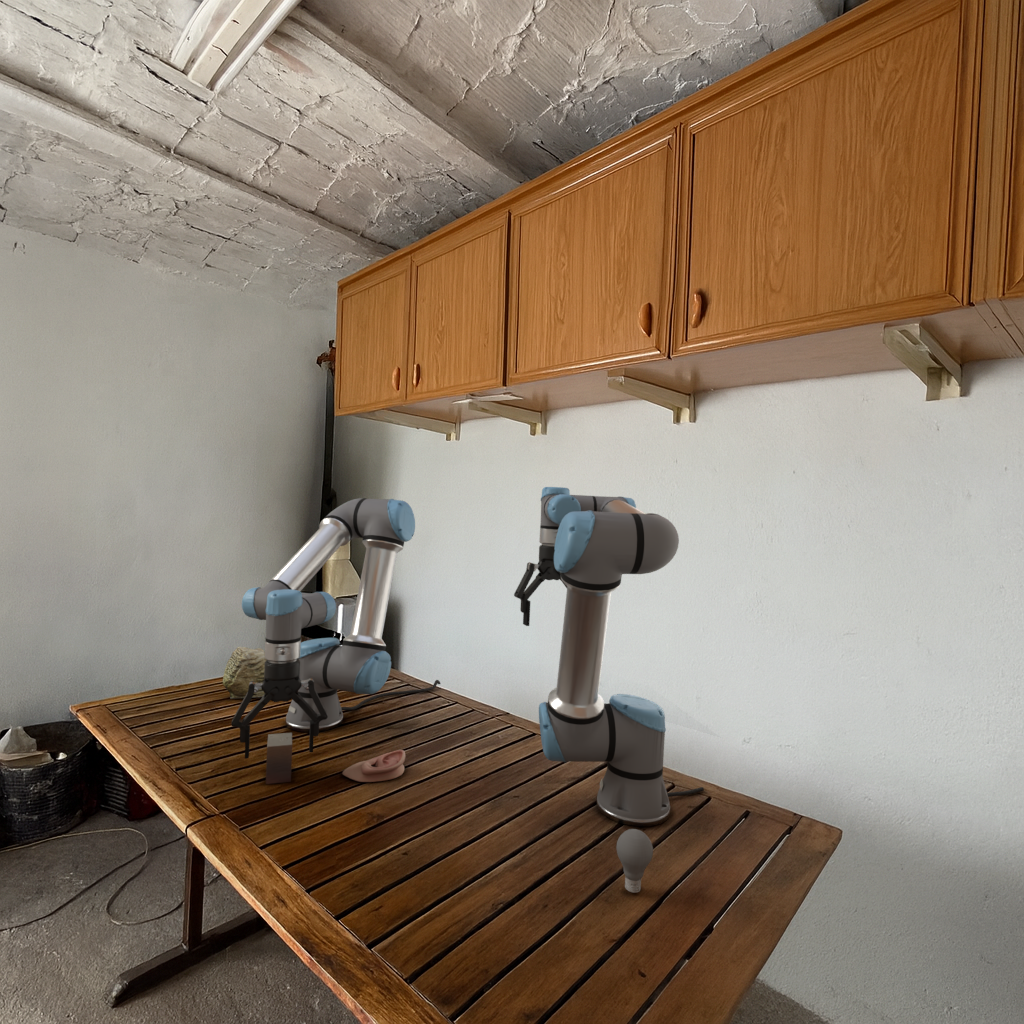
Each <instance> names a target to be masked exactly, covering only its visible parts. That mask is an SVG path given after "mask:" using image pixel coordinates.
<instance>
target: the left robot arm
mask: <svg viewBox="0 0 1024 1024" xmlns="http://www.w3.org/2000/svg"><path fill="white" fill-rule="evenodd" d="M318 527H319V528H318V529H317V531H315V532H314V533H313V535H311V536H310V538H309V539H308V540H307V541H306V542H305V543H304V544H303V545H302V546H301V547H300V548H299V549H298V550H297V552H295V553H294V554H293V556H291V558H290V559H288V561H287V562H286V563H285V564H284V565H283V566H282V567H281V568H280V569H279V570H278V572H276V573H275V574H274V575H273V576H272V578H270V579H269V581H268V582H267V583H266V584H265V585H264V586H263V587H261V586H259V587H258V586H257V587H251V588H249V589H248V590H246V592H245V593H244V595H243V597H242V599H241V609H242V612H243V613H244V615H245V616H246V617H248V618H252V619H255V620H256V619H257V620H259V621H265V641H264V642H265V643H264V652H265V659H266V662H265V665H264V681H263V683H255V682H254V681H251V682H250V683H249V688H248V692H247V694H246V696H245V698H242V701H241V703H240V704H239V707H238V709H237V710H236V712H235V713H234V715H233V717H232V719H231V723H230V724H231V727H232V728H238V729H239V742H240V744H243V743H244V759H245V760H247V759H249V757H250V742H251V741H250V740H251V739H250V738H251V732H250V731H251V724H250V723H251V722H252V721H253V720H254V719H255V718H256V716H257V715H258V714H259V713H260V712H261V711H262V710H263V708H265V706H267V705H268V704H269V703H270V702H273V703H279V702H289V701H291V702H290V704H289V707H288V711H287V713H286V715H285V726H286V728H287V729H289V730H291V731H294V732H295V731H296V732H301V733H309V736H308V737H309V739H308V740H309V742H308V751H309V753H314V737H318V736H319V734H320V732H325V731H329V730H332V729H335V728H337V727H339V726H340V725H342V723H343V722H344V714H343V711H344V712H345V711H349V712H351V711H355V710H357V709H359V708H361V707H362V706H363V705H365V704H367V703H369V702H371V701H374V700H377V699H380V698H383V697H384V698H385V697H389V696H400V695H408V694H409V695H410V694H419V693H425V692H430V691H433V690H434V689H435V688H436V687H437V685H441V681H440V680H439V679H436V680H435V681H434V683H433V684H432V686H433V687H432V686H430V687H427V688H426V687H425V688H420V689H419V688H417V689H409V690H400V691H399V690H398V691H389V692H383V693H379V694H376V693H378V692H379V691H380V690H381V689H382V688H383V687H384V686H385V684H386V682H387V681H388V678H389V676H390V673H391V669H392V661H391V660H392V658H391V654H389V653H388V652H387V651H386V648H387V645H386V643H385V642H384V640H383V632H384V628H385V622H386V616H387V611H388V605H389V601H390V600H389V599H390V594H391V589H392V582H393V577H394V571H395V566H396V560H397V556H398V553H400V552H401V551H402V550H404V546H405V542H409V541H411V540H412V539H413V537H414V536H415V531H416V517H415V513H414V511H413V508H412V507H411V506H410V504H409V503H408V502H406V501H405V500H401V499H395V498H366V497H358V498H354V499H351V500H348V501H346V502H344V503H342V504H341V505H339V506H337V507H336V508H335V509H333V510H332V511H330V512H329V513H328V514H327V515H325V517H323V519H322V520H321V521H320V523H319V525H318ZM354 539H362V541H361V542H362V544H363V545H364V547H365V556H364V559H363V564H362V571H361V575H360V580H359V586H358V590H357V597H356V601H355V607H354V612H353V617H352V623H351V628H350V631H349V632H350V633H349V634H348V635H347V636H346V637H344V638H343V641H342V645H340V644H341V641H340V639H339V638H337V637H321V638H313V639H307V640H304V641H302V629H306V628H309V627H314V626H317V625H322V624H323V623H325V622H328V621H330V620H331V619H333V617H334V616H335V614H336V611H337V604H336V600H335V598H334V597H333V596H332V594H330V593H329V592H326V591H315V592H312V593H311V592H302V590H303V589H304V588H305V587H306V585H307V584H308V583H309V582H310V581H311V580H312V579H313V578H314V577H315V575H316V574H317V573H318V572H319V571H320V570H321V568H322V567H323V566H324V565H325V564H327V562H328V561H329V559H331V557H332V556H333V555H334V554H335V553H336V552H337V551H338V549H340V547H345V546H346V545H347V544H348V543H349V542H350V541H352V540H354ZM259 689H262V690H263V691H264V693H265V695H264V696H263V697H260V698H261V699H259V700H258V702H257V703H256V704H255V705H254V706H253V708H252V709H251V710H250V711H248V713H247V714H246V715H245V717H243V719H242V716H243V715H244V713H245V711H246V709H247V708H248V706H249V704H250V702H251V700H252V698H254V697H253V693H257V692H258V690H259ZM338 691H342V692H347V693H355V694H356V695H372V696H370V697H368V698H366V699H364V700H362V701H361V702H360V701H359V703H358V704H356V705H354V706H341V702H340V699H339V695H338ZM374 694H375V695H374Z"/></svg>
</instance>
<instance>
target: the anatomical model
mask: <svg viewBox="0 0 1024 1024" xmlns="http://www.w3.org/2000/svg"><path fill="white" fill-rule="evenodd" d="M405 760H406V751H405V750H403V749H397V750H393V751H390V752H387V753H383V754H381V755H378V756H375V757H373V758H370V759H367V760H363V761H359V762H356V763H354V764H352V765H350V766H348V767H346V768H345V769H344V770H343V771H342V776H344V777H346V778H348V779H349V780H353V781H355V782H359V783H372V782H373V783H375V782H382V781H388V780H393V779H396V778H398V777H400V776H402V775H403V773H404V772H405V765H404V763H405Z"/></svg>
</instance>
